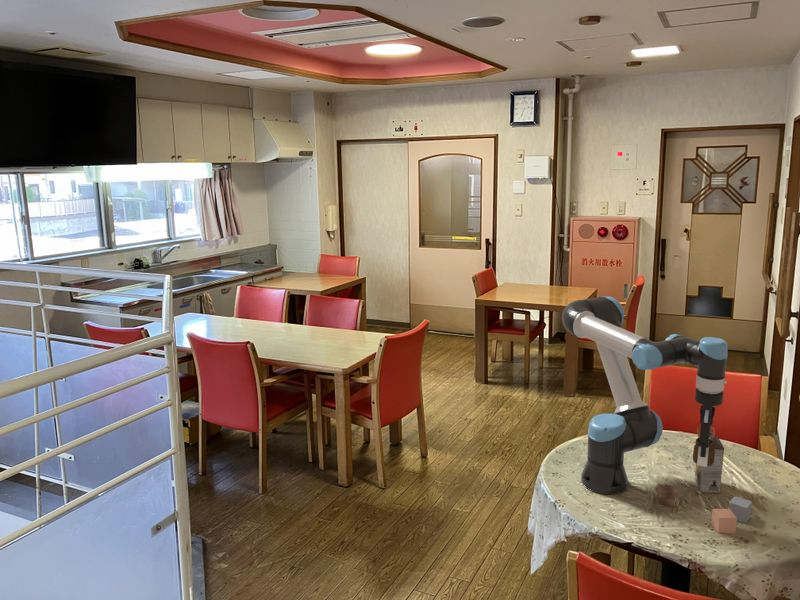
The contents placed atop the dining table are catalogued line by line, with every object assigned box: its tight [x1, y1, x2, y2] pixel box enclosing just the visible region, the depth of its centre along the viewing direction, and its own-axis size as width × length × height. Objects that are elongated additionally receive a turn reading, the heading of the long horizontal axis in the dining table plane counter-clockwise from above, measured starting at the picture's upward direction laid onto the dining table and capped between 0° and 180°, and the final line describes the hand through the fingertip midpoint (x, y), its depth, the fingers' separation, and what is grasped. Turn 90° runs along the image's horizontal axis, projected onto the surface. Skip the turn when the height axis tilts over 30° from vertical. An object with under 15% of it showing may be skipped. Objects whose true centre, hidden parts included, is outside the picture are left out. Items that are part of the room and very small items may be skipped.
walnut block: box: [656, 483, 677, 508], centre depth 210 cm, size 5×5×5 cm
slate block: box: [728, 496, 753, 524], centre depth 201 cm, size 5×5×5 cm
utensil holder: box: [692, 426, 716, 466], centre depth 199 cm, size 6×6×12 cm
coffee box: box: [694, 435, 725, 494], centre depth 218 cm, size 9×6×16 cm
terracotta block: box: [710, 508, 738, 534], centre depth 195 cm, size 5×5×5 cm
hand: (702, 460), depth 201 cm, fingers closed on utensil holder, 6 cm apart
